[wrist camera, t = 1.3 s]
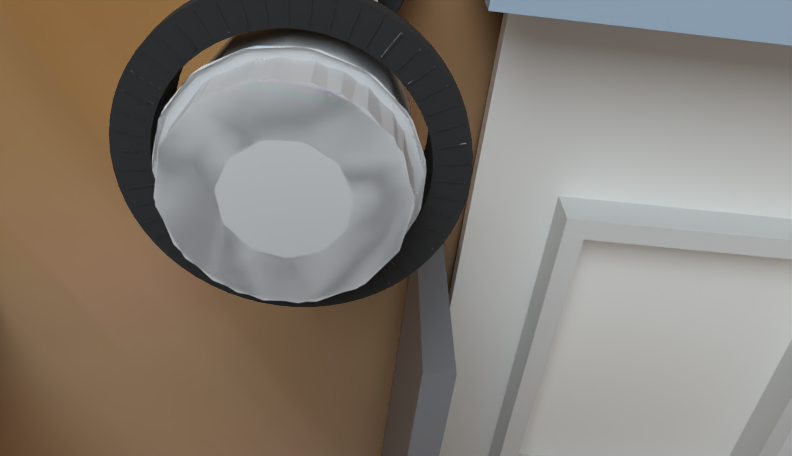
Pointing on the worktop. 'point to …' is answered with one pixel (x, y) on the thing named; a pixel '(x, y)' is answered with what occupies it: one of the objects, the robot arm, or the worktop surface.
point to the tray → (629, 235)
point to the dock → (422, 366)
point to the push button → (292, 147)
